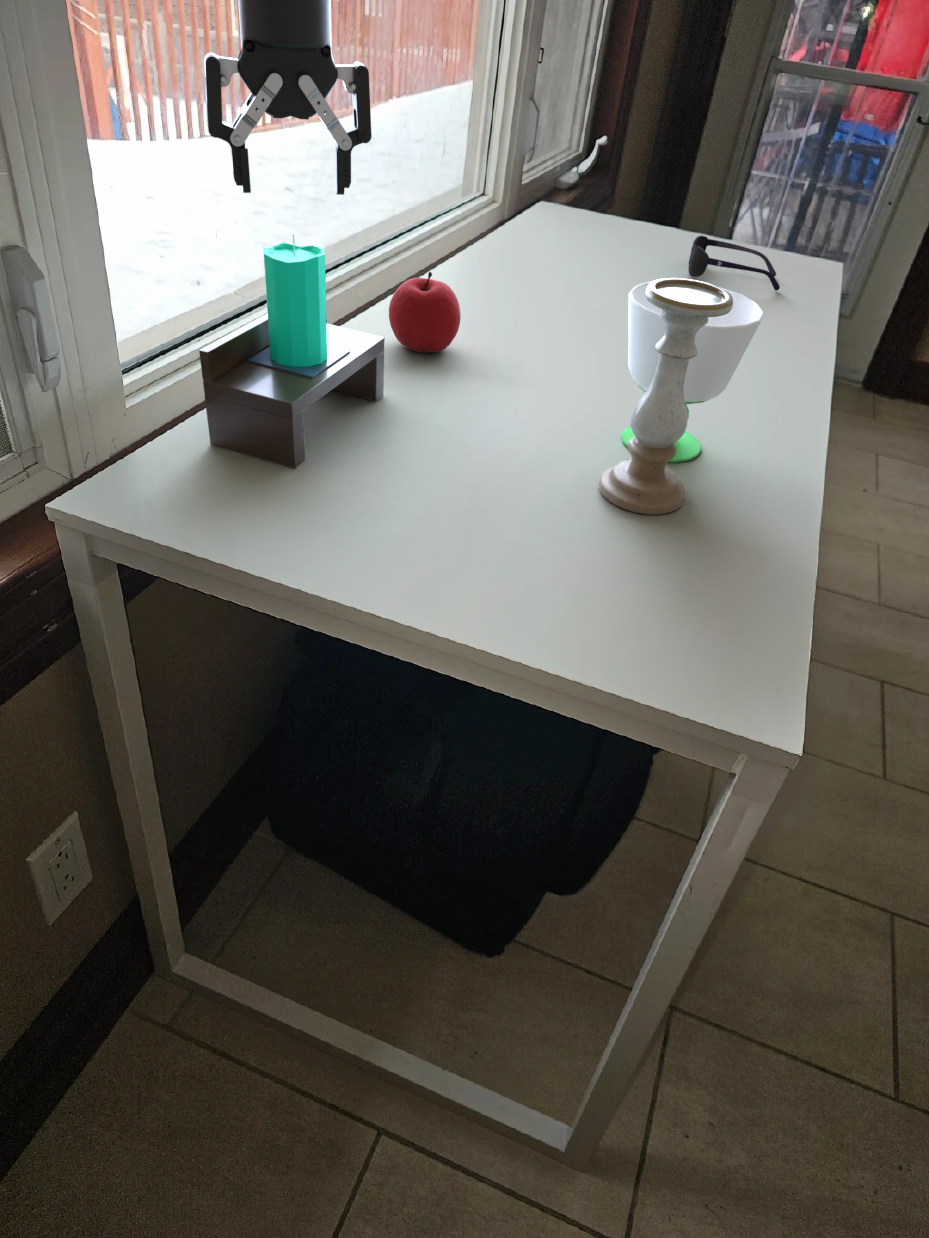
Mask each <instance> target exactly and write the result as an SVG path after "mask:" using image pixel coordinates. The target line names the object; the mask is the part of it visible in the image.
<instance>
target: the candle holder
mask: <svg viewBox="0 0 929 1238" xmlns="http://www.w3.org/2000/svg"><path fill="white" fill-rule="evenodd" d="M652 281H653V282H651V283H650V284H649V286H648V287H647V289H646V293H645V296H646V299H647V300H648V301H649V302H650V303H651V304H653V305H654V306H656V307H658V308H660V309H662V311H661V317H662V319H663V320H664V322H665V326H666V331H665V334H664V336H663V337H662V338H661V340H660V341H659V342H658V343H657V344H656V345H655V348H656V350H657V351H658V352H659V359H658V363H657V367H656V371H655V374H654V377H653V380H652V382H651V384H650V386H649V388H648V389H647V391H646V392H644V393H643V395H642V396H641V397H640V398H639V400H638V401H637V403H636V404H635V406H634V407H633V409H632V411H631V414H630V419H629V423H630V425H629V426H631V429H632V431H633V433H634V435H635V437H633V438H631V439H630V440H629V442H628V447H627V449H628V451H629V452H630V456H631V458H629V459H627V458H626V459H624V460H621V461H619V462H617V463H616V464H615V465H611V466H609V467H607V468H606V469H604V470H603V471H602V472H601V474H600V478H599V483H598V488H599V491H600V493H601V495H602V496H603V497H604V498H605V499H606V500H607V501H608V502H610V503H611V504H613V505H615V506H616V507H619V508H621V509H623V510H627V511H629V512H632V513H633V512H634V513H637V514H643V515H664V514H669V513H671V512H674V511H677V510H678V509H679V508H681V507H682V505H683V504H684V501H685V499H686V496H687V489H686V487H685V485H684V483H683V481H681V479H680V478H679V477H678V475H677V473H676V472H675V471H674V470H673V469H672V468H670V467H669V466H667V464H668V463H670V462H669V461H670V460H671V459H672V458H674V457H675V455H676V447H675V446H674V444H673V443H675V442H676V441H678V440H679V439H680V438H681V437H682V436H683V434H684V432H686V430H687V427H688V421H687V409H686V405H687V404H685V399H684V381H685V376H686V372H687V367H688V364H689V361H690V358H694V357H695V356H696V355H697V348H696V345H695V342H694V339H695V335H696V333H697V332H698V330H699V329H700V328H702V327H703V326H705V325H706V324H707V322H708V319H709V317H718V316H722V315H725V314H727V313H729V312H730V311H731V309H732V307H733V298H732V296H731V294H730V293H729V292H727V291H726V290H724V289H725V288H724V289H722V288H723V287H721V286H718V285H715V284H712V283H709V282H705V281H700V280H696V279H692V278H691V279H690V278H681V277H680V278H679V277H667V278H659V279H654V280H652ZM720 287H721V288H720Z"/></svg>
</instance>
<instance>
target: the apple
mask: <svg viewBox="0 0 929 1238" xmlns="http://www.w3.org/2000/svg"><path fill="white" fill-rule="evenodd" d="M432 276H433V273H432V271H428V276H427V278H426V277H425V278H424V277H413V278H410V279H407V280H405V281H404V282H403V283H402V284H401V285H399V287H398V288H397V289H396V290H395V292H393V295H392V297H391V299H390V301H389V306H388V320H389V325H390V327H391V330H392V333H393V335H394V337H395V339H396V340H397V341H398V342H399V343H400V344H401V346H403V347H405V348H406V349H409V350H412V351H414V352H416V353H420V354H422V353H423V354H424V353H439V352H441V351H443V350H445V349H447V348H448V347H449V346H450V345H451V343H452V342H453V341H454V339H455V338H456V337H457V334H458V333H459V329H460V325H461V307H460V303H459V300H458V297H457V296H456V293H455V292H454V290H453V289H452V288H451V287H450V285H449V284H447V283H446V282H443V281H441V280H437V279H432V278H431V277H432Z"/></svg>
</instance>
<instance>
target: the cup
mask: <svg viewBox="0 0 929 1238" xmlns="http://www.w3.org/2000/svg"><path fill="white" fill-rule="evenodd" d="M653 281H654V280H650V281H647V282H643V283H640V284H635V286H633V288H632V289H631V290H630V291H629V292H628V300H627V301H628V302H627V303H628V306H627V307H628V313H627V314H628V315H627V316H628V323H627V324H628V325H627V326H628V328H627V329H628V330H627V335H628V336H627V337H628V338H627V340H628V341H627V344H628V345H627V348H628V349H627V352H628V353H627V359H628V360H627V367H628V370H629V372H630V376H631V378H632V380H633V383H634V384H635V385H636V386H637V387H638V389H640V390H641V391H643V392H644V393H645V392H646V391H647V389H648V388H649V386H650V384H651V382H652V380H653V377H654V374H655V371H656V367H657V363H658V359H659V352H658V351H657V350H656V348H655V345H656V344H657V343H658V342H659V341H660V340H661V338H662V337H663V336H664V334H665V331H666V326H665V322H664V320H663V319H662V317H661V311H662V309H660V308H658V307H656V306H654V305H653V304H651V303H650V302H649V301H648V300H647V299H646V296H645V293H646V289H647V287H648V286H649V284H650V283H651V282H653ZM719 287H720V288H722V289H724V290H726V291H727V292H729V293H730V294H731V296H732V298H733V307H732V309H731V311H730V312H729V313H727V314H725V315H722V316H718V317H709V319H708V322H707V324H706V325H705V326H703V327H702V328H700V329H699V330H698V332H697V333H696V335H695V339H694V342H695V345H696V348H697V355H696V356H695V357H694V358H690V361H689V364H688V367H687V372H686V376H685V381H684V399H685V404H686V409H687V422H689V421H688V420H689V418H690V417H689V416H690V410H689V408H688V405H692V404H693V405H694V404H701V403H704V402H707V401H710V400H712V399H715V398H716V397H718V396H720V394H722V393H723V392H724V391H725V390H726V389H727V387H728V385H729V384H730V381H731V379H732V377H733V375H734V374H735V371H736V370H737V368H738V366H739V364H740V362H741V361H742V358H743V356H744V354H745V352H746V351H747V349H748V347H749V345H750V343H751V341H752V340H753V337H754V335H755V333H756V332H757V330H758V328H759V327H760V324H761V322H762V320H763V318H764V315H765V312H764V311H763V310H762V308H761V307H760V306H759V304H758V303H757V302H756V301H754V300H753V299H751V298H748V296H747V297H746V296H745V295H743V294H742V293H739V292H735V291H732V290H729V289H727V288H724V287H721V286H719ZM633 437H635V435H634V433H633V431H632V429H631V425H629V426H628V427H626V428H624V429H623V431H622V432H621V434H620V438H621V440H622V444H623V445H624V446H626V447H627V448H628V442H629V440H630V439H631V438H633ZM673 444H674V446H675V447H676V455H675V457H674V458H672V459H671V460H670V461H669V462H668V463H681V462H687V461H690V460H693V459H694V458H696V457H698V456H699V454H700V452H701V450H702V446H701V444H700V441H699V440H698V439H697V438H696V437H695V436H693V435H692V434H691V433H690V432H687V431H685V432H684V434H683V436H682V437H681V438H680V439H679V440H678V441H676V442H675V443H673Z"/></svg>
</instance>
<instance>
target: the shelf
mask: <svg viewBox="0 0 929 1238" xmlns="http://www.w3.org/2000/svg"><path fill="white" fill-rule="evenodd" d="M198 353H199V363H200V368H201V375H202V376H201V377H202V386H203V394H204V401H205V402H204V403H205V410H206V411H205V413H206V419H207V427H208V436H209V443H210V445H211V446H214V447H218V448H221V449H225V450H229V451H232V452H235V453H239V454H242V455H245V456H249V457H252V458H257V459H260V460H263V461H266V462H270V463H274V464H277V465H280V466H284V467H288V468H290V469H297V468H298V467H299V466H301V465H302V464H303V463H304V462H306V445H305V443H306V442H305V422H304V421H305V420H304V411H305V410H307V409H308V408H310V407H311V406H312V405H314V404H315V403H316V402H317V401H319V400H320V399H321V398H323V397H324V396H326V395H327V394H329V392H331V391H334V392H337V393H341V394H345V395H348V396H349V395H350V396H352V397H357V398H360V399H364V400H368V401H372V402H378V401H379V400H380V399H381V398H382V397H384V389H385V387H384V386H385V385H384V384H385V383H384V382H385V337H384V336H381V335H376V334H372V333H368V332H363V331H360V330H355V329H351V328H347V327H342V326H338V325H334V324H330V323H327V359H326V360H325V361H323V362H322V363H321V364H317V365H313V366H309V367H292V366H287V365H282V364H279V363H277V362H275V361H274V360H272V359H271V355H270V341H269V326H268V312H266V313H265V314H263V315H262V316H260V317H258V318H256V319H254V320H253V321H251V322H249V323H246V324H245V325H243V326H241V327H239V328H237V329H236V330H234V331H232V332H231V333H228V334H227V335H225V336H223V337H221V338H220V339H217V340H215V341H214V342H212V343H210V344H208V345H206V346H204V347H202V348H201V349H199V351H198Z"/></svg>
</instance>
